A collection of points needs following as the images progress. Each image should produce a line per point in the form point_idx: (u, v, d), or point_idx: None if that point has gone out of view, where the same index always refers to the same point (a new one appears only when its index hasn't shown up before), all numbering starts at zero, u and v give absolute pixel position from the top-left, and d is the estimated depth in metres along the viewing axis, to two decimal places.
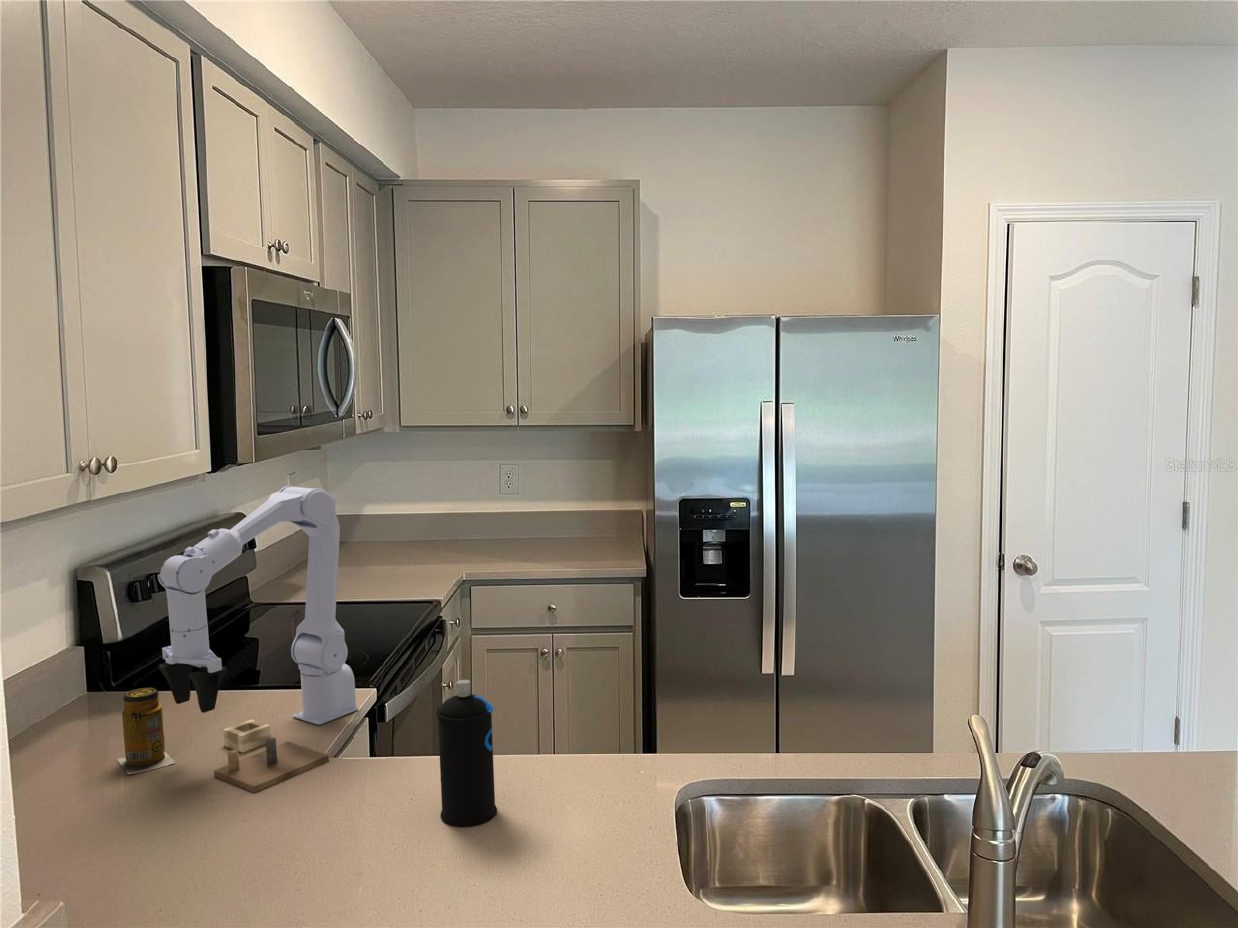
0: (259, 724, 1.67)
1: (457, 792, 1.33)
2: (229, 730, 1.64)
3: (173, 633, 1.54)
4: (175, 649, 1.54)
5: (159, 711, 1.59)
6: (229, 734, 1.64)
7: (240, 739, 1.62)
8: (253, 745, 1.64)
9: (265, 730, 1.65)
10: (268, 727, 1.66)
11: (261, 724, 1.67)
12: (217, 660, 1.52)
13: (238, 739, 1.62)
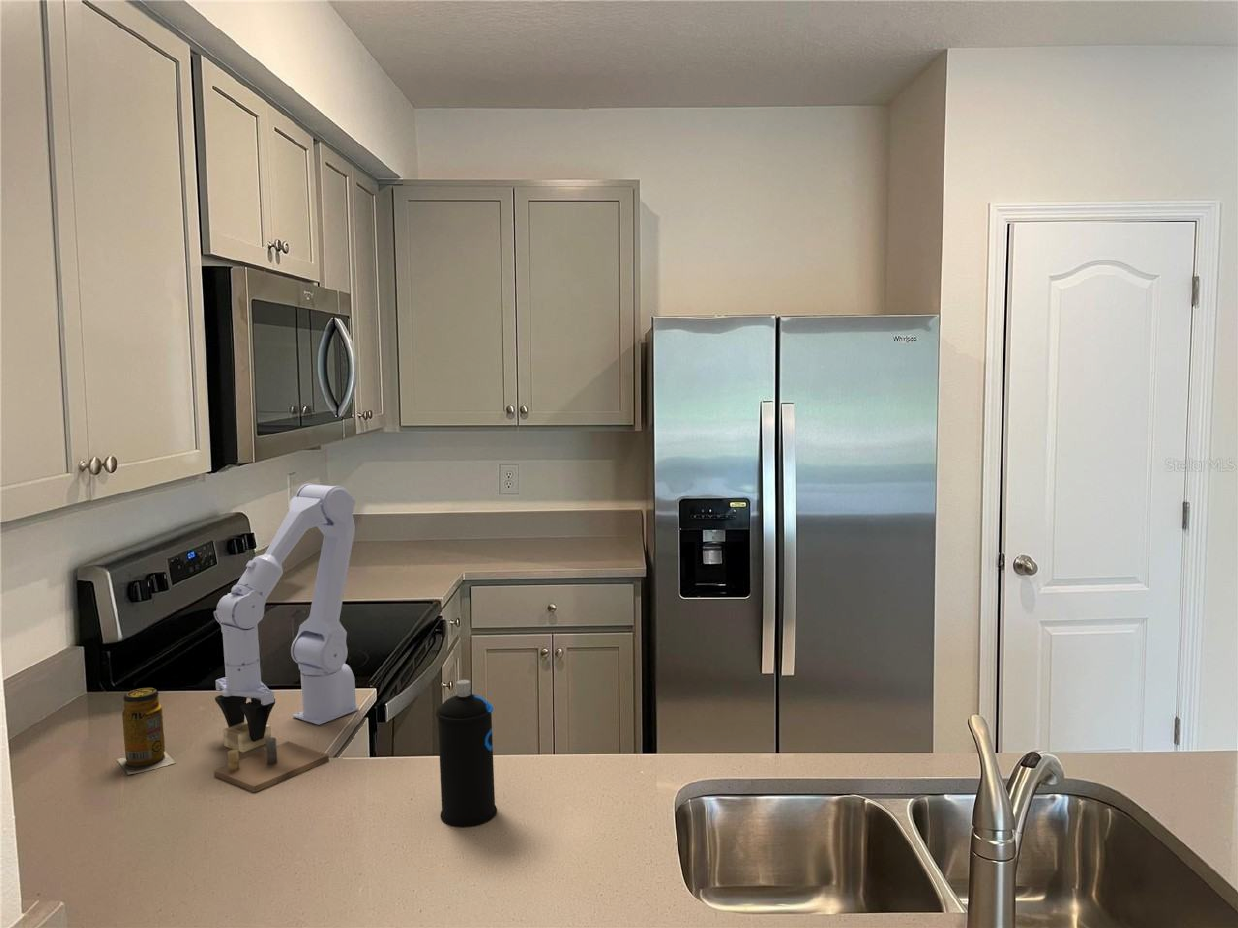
0: None
1: (457, 792, 1.33)
2: (229, 730, 1.64)
3: (228, 667, 1.62)
4: (230, 682, 1.62)
5: (159, 711, 1.59)
6: (229, 734, 1.64)
7: (240, 739, 1.62)
8: (253, 745, 1.64)
9: (265, 730, 1.65)
10: (268, 727, 1.66)
11: None
12: (270, 693, 1.61)
13: (238, 739, 1.62)
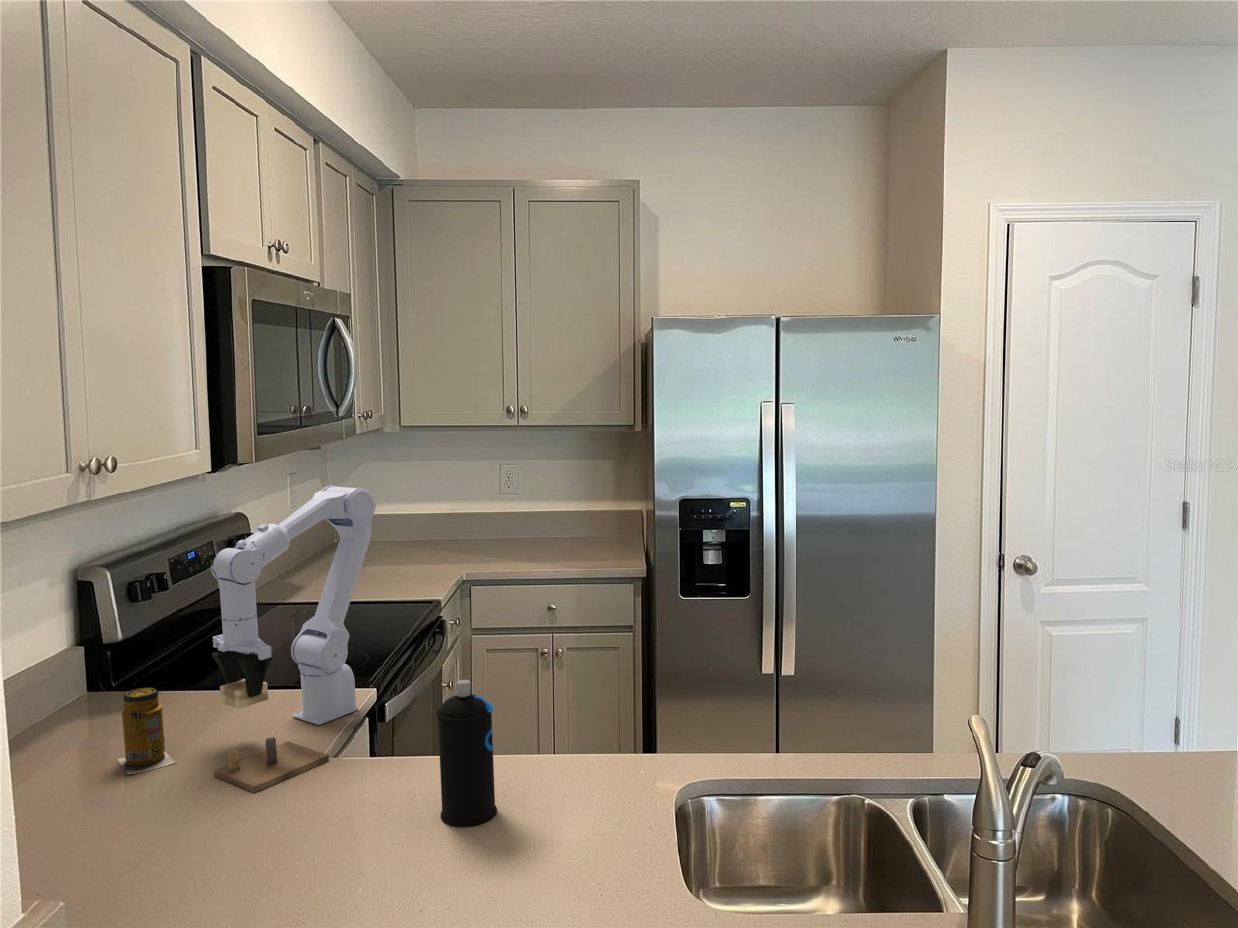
0: None
1: (457, 791, 1.33)
2: (226, 687, 1.63)
3: (225, 622, 1.61)
4: (227, 637, 1.61)
5: (159, 711, 1.59)
6: (226, 691, 1.63)
7: (237, 695, 1.61)
8: (250, 702, 1.63)
9: (262, 687, 1.64)
10: (265, 685, 1.65)
11: None
12: (267, 648, 1.60)
13: (235, 695, 1.61)
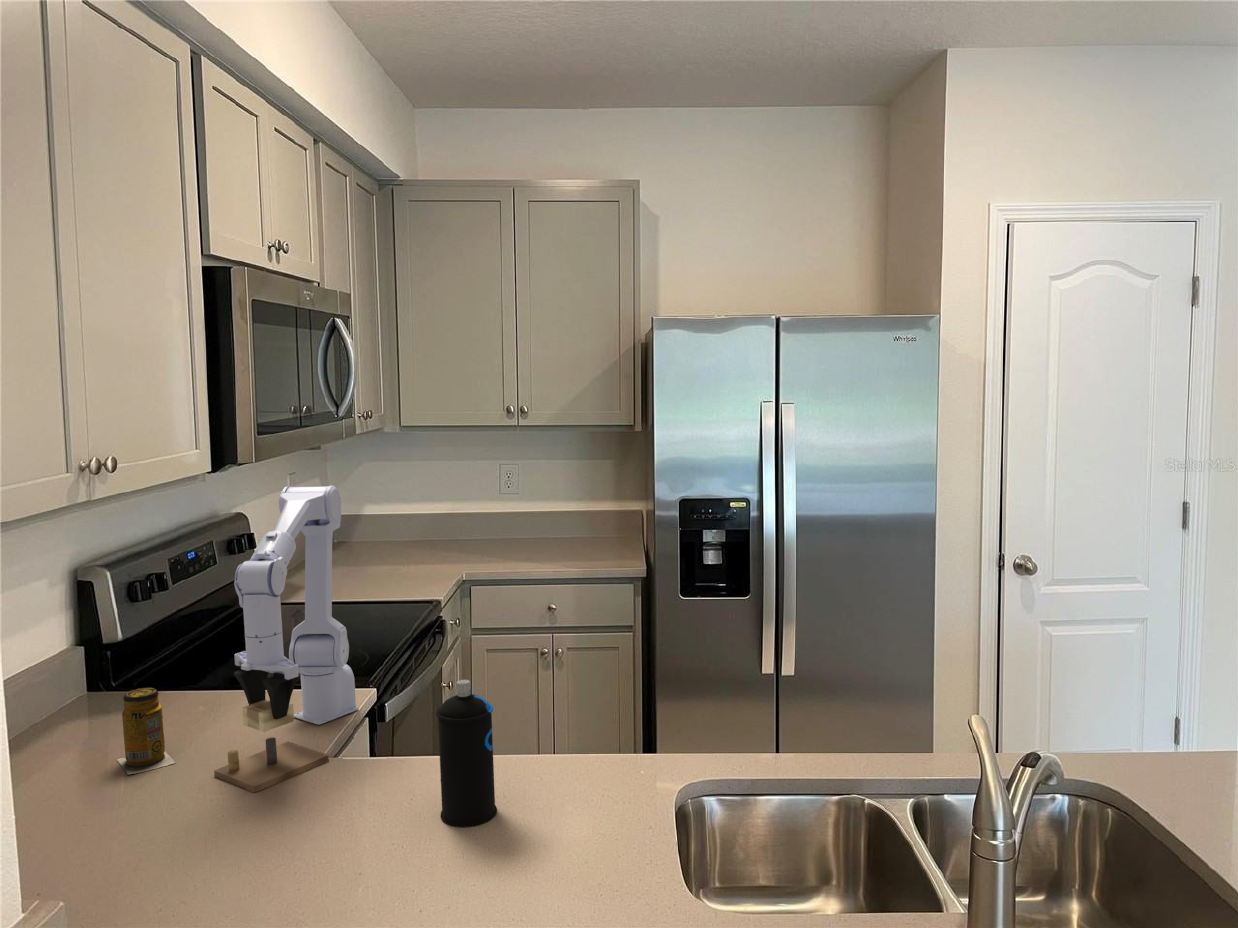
0: None
1: (457, 791, 1.33)
2: (249, 708, 1.53)
3: (249, 639, 1.50)
4: (251, 655, 1.51)
5: (159, 711, 1.59)
6: (249, 712, 1.52)
7: (261, 717, 1.50)
8: (275, 724, 1.52)
9: None
10: (290, 706, 1.54)
11: None
12: (294, 667, 1.49)
13: (259, 718, 1.51)
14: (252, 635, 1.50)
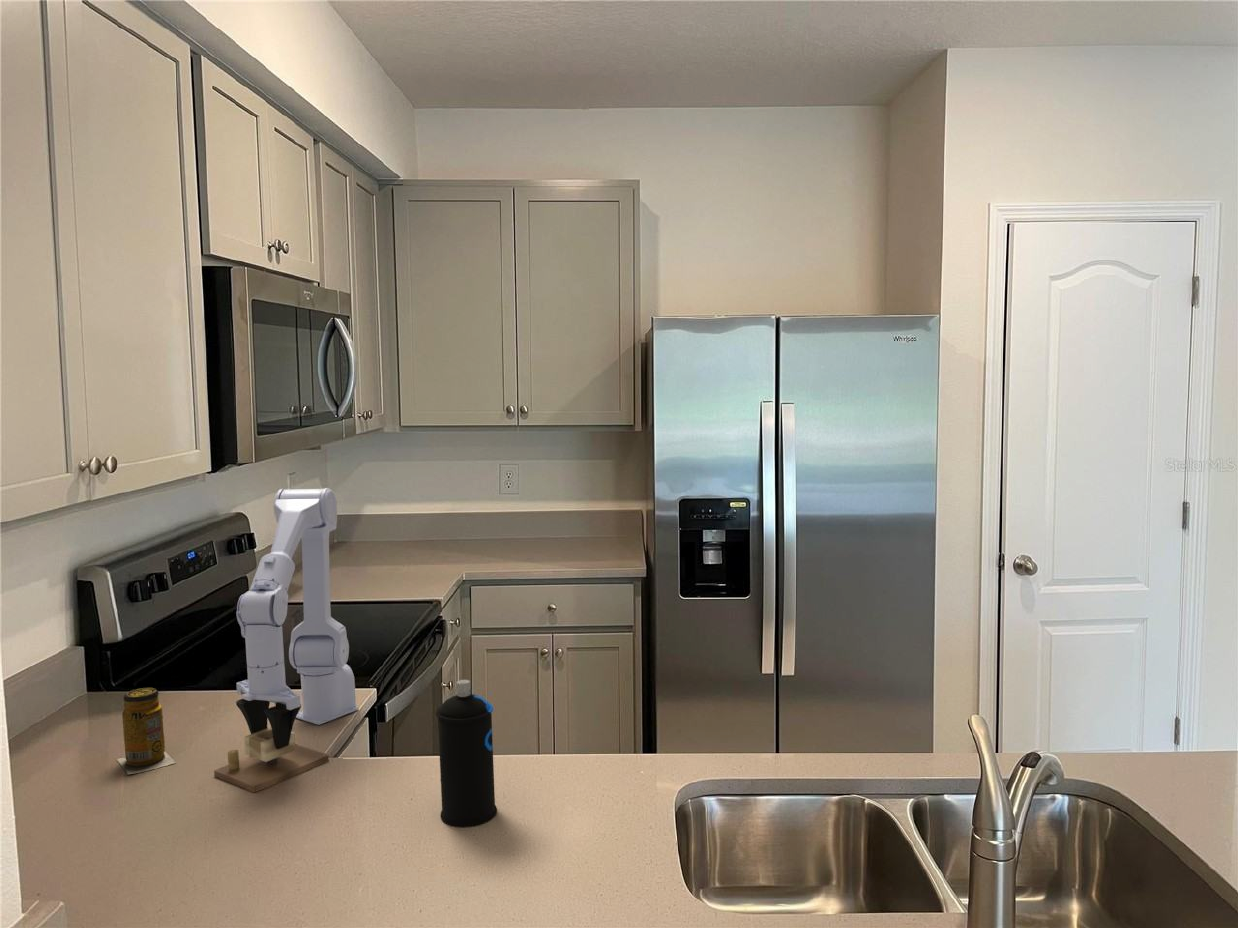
0: None
1: (457, 791, 1.33)
2: (251, 737, 1.53)
3: (251, 669, 1.51)
4: (253, 685, 1.51)
5: (159, 711, 1.59)
6: (251, 742, 1.53)
7: (263, 747, 1.51)
8: (277, 754, 1.52)
9: None
10: (292, 735, 1.55)
11: None
12: (296, 697, 1.50)
13: (261, 747, 1.51)
14: (254, 665, 1.50)
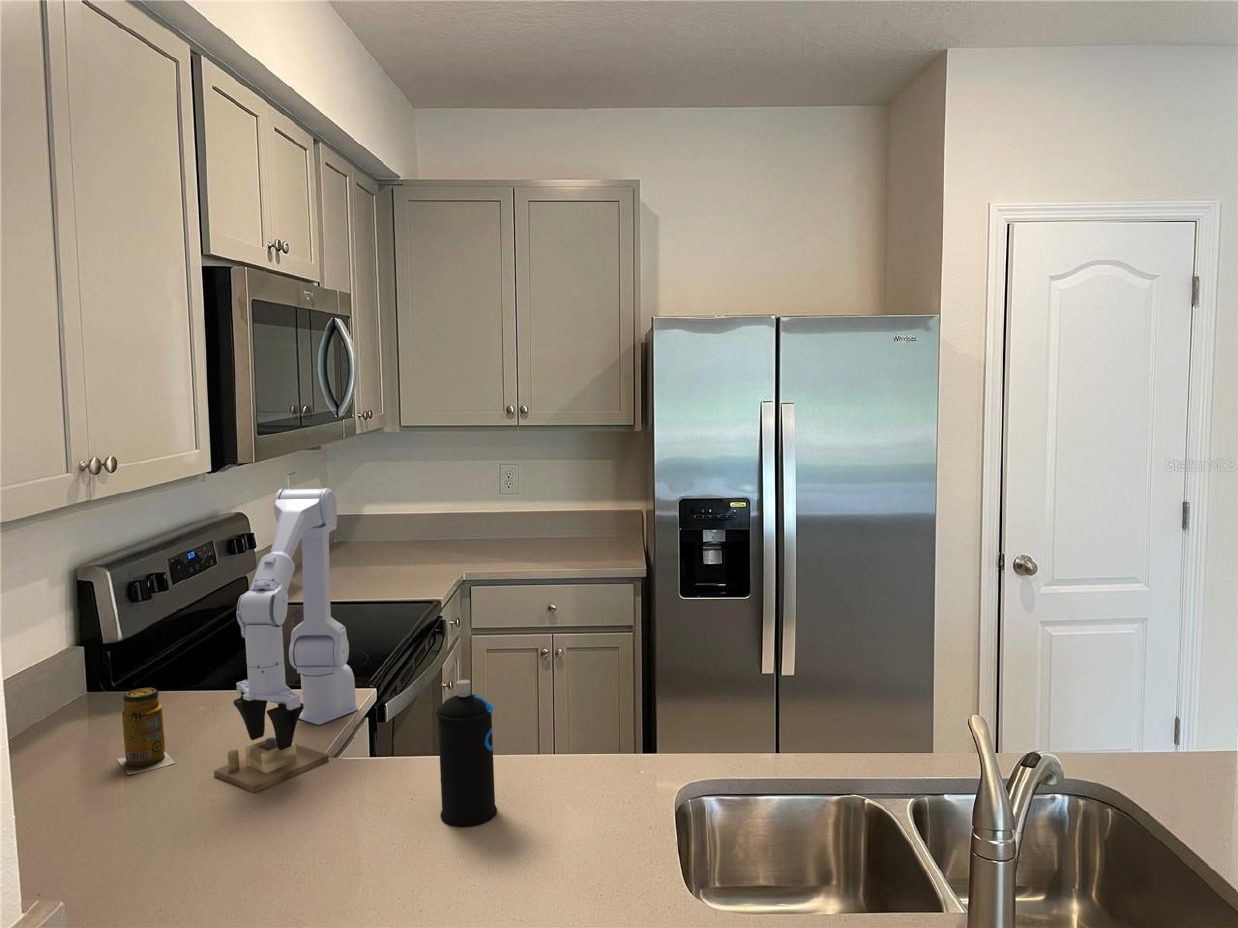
0: None
1: (457, 792, 1.33)
2: (252, 748, 1.53)
3: (251, 669, 1.51)
4: (253, 685, 1.51)
5: (159, 711, 1.59)
6: (252, 753, 1.53)
7: (264, 758, 1.51)
8: (277, 765, 1.53)
9: (290, 748, 1.54)
10: (293, 746, 1.55)
11: None
12: (296, 697, 1.50)
13: (262, 759, 1.51)
14: (254, 665, 1.50)
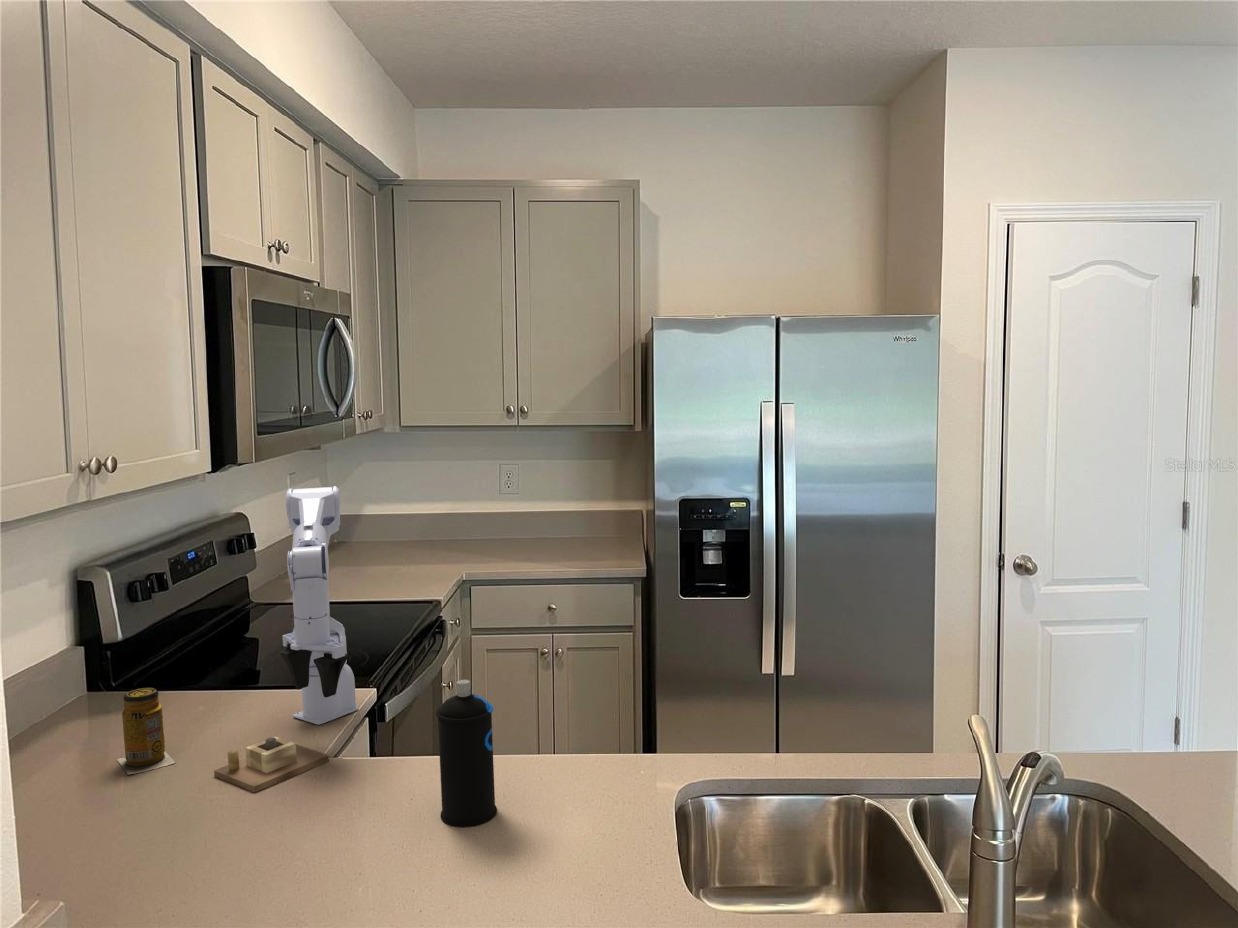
0: (284, 741, 1.56)
1: (457, 792, 1.33)
2: (252, 748, 1.53)
3: (298, 620, 1.59)
4: (299, 636, 1.59)
5: (159, 711, 1.59)
6: (252, 753, 1.53)
7: (264, 758, 1.51)
8: (277, 765, 1.53)
9: (290, 748, 1.54)
10: (293, 746, 1.55)
11: (286, 742, 1.56)
12: (341, 646, 1.58)
13: (262, 759, 1.51)
14: (306, 617, 1.59)
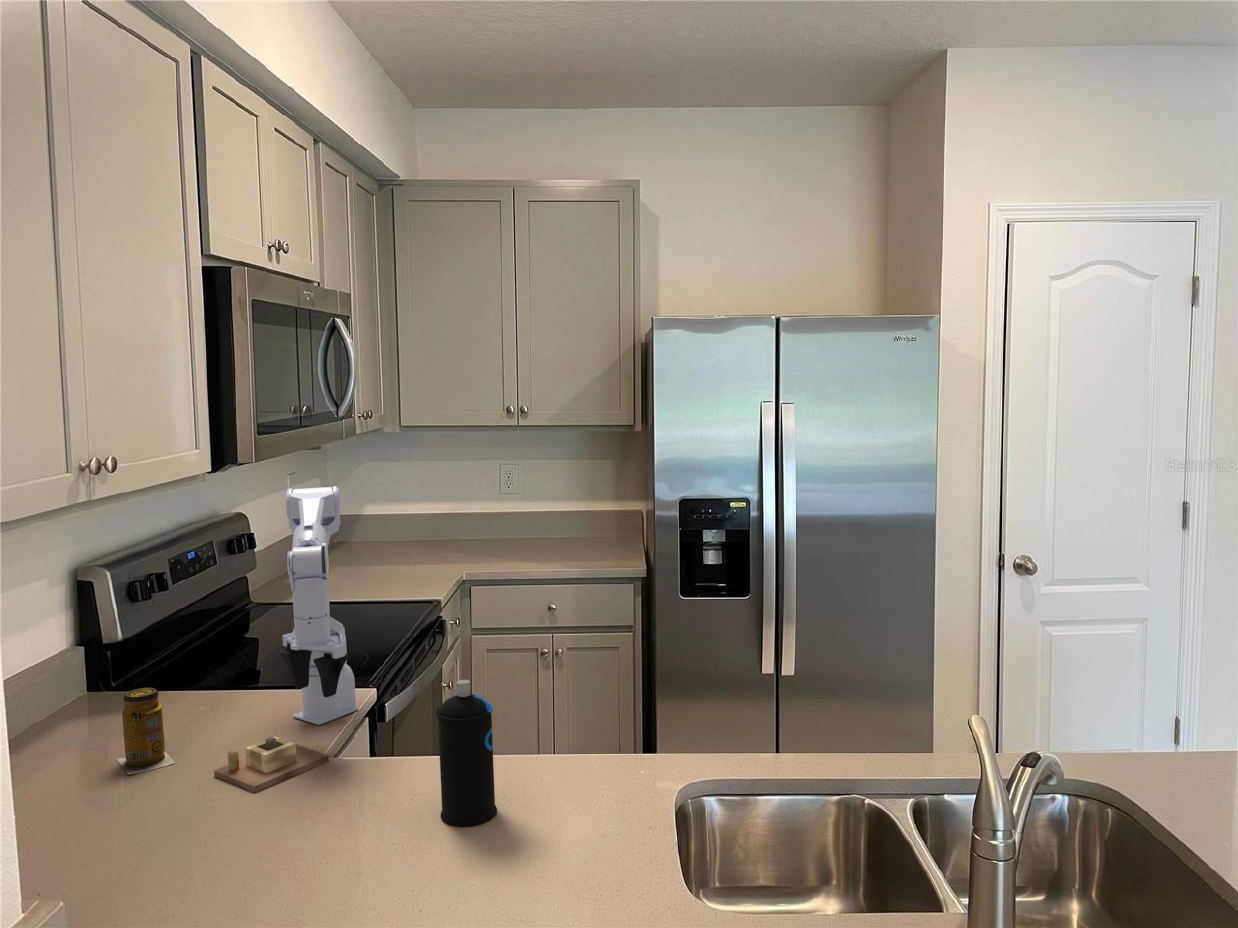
0: (284, 741, 1.56)
1: (457, 792, 1.33)
2: (252, 748, 1.53)
3: (298, 620, 1.59)
4: (299, 636, 1.59)
5: (159, 711, 1.59)
6: (252, 753, 1.53)
7: (264, 758, 1.51)
8: (277, 765, 1.53)
9: (290, 748, 1.54)
10: (293, 746, 1.55)
11: (286, 742, 1.56)
12: (341, 646, 1.58)
13: (262, 759, 1.51)
14: (306, 617, 1.59)
